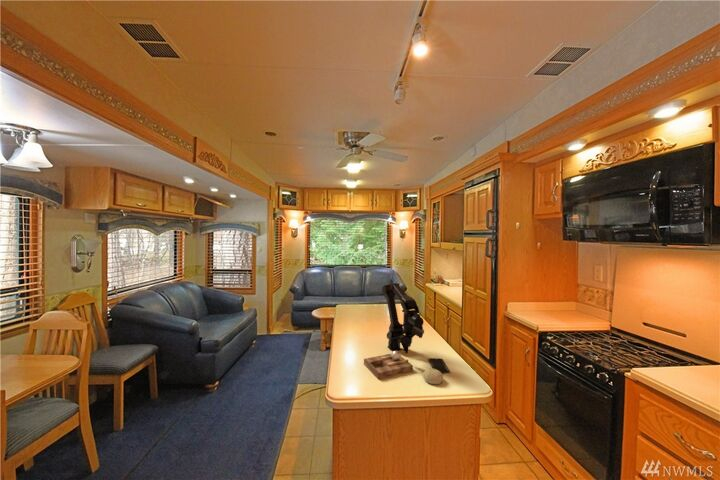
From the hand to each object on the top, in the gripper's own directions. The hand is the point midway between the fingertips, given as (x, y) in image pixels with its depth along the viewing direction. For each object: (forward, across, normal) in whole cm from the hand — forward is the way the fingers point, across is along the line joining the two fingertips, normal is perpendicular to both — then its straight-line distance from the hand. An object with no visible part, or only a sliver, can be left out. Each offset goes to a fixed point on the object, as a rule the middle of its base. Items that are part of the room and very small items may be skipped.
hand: (407, 349), depth 150 cm
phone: (+6, -1, -17) cm, 18 cm away
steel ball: (0, -9, +5) cm, 10 cm away
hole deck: (+6, -13, +8) cm, 16 cm away
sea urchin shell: (+6, -16, -15) cm, 23 cm away
